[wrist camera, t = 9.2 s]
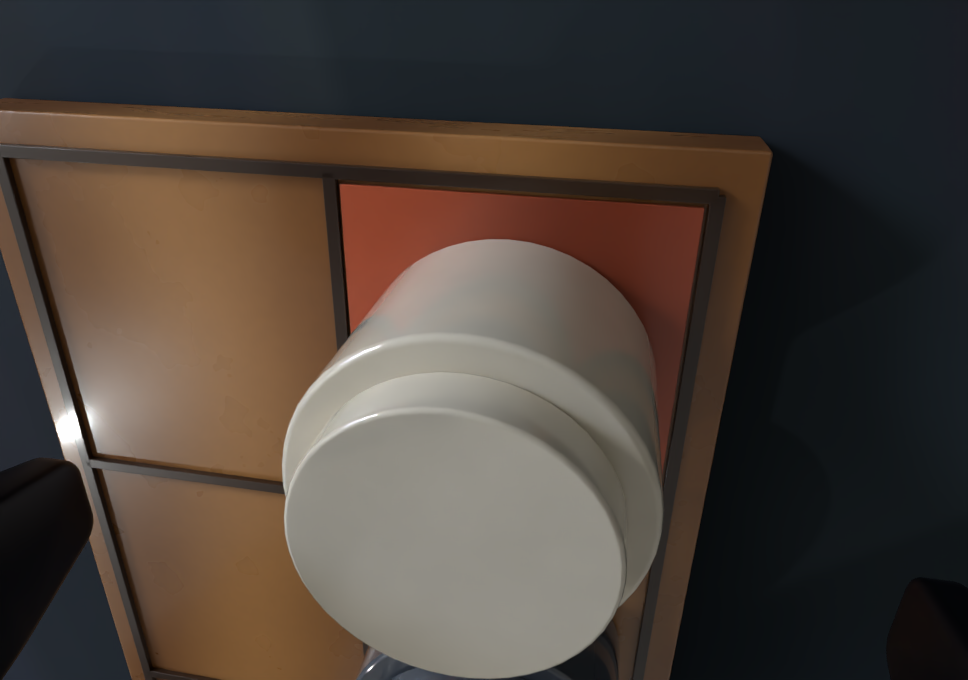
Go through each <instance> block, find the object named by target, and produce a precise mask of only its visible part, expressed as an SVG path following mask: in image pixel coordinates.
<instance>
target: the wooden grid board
mask: <svg viewBox="0 0 968 680" xmlns="http://www.w3.org/2000/svg"><path fill="white" fill-rule="evenodd" d="M772 157H773V153H772V151H771V150H770V148H769V147H768V146H767V145H766V143H765V142H764V141H763V139H762V138H761V137H756V136H737V135H717V134H697V133H678V132H658V131H639V130H619V129H600V128H580V127H560V126H541V125H521V124H502V123H482V122H463V121H443V120H423V119H404V118H384V117H365V116H345V115H326V114H306V113H286V112H267V111H247V110H228V109H208V108H189V107H169V106H149V105H130V104H110V103H91V102H71V101H52V100H32V99H12V98H4V99H0V249H1V252H2V256H3V259H4V262H5V265H6V269H7V272H8V275H9V278H10V282H11V285H12V288H13V292H14V295H15V298H16V301H17V305H18V308H19V311H20V314H21V318H22V321H23V324H24V328H25V331H26V334H27V337H28V341H29V344H30V347H31V350H32V354H33V357H34V360H35V364H36V367H37V370H38V373H39V377H40V380H41V383H42V386H43V390H44V393H45V396H46V400H47V403H48V406H49V409H50V413H51V416H52V419H53V423H54V426H55V429H56V432H57V436H58V439H59V442H60V445H61V449H62V452H63V455H64V459H65V461H70V462H72V463H74V464H75V465H76V466H77V467H78V468H79V470H80V472H81V475H82V479H83V482H84V486H85V489H86V492H87V496H88V499H89V502H90V506H91V509H92V512H93V517H94V523H93V529H92V532H91V535H90V537H89V540H90V544H91V547H92V550H93V553H94V557H95V560H96V563H97V567H98V570H99V573H100V576H101V580H102V583H103V586H104V589H105V593H106V596H107V599H108V603H109V606H110V609H111V612H112V616H113V619H114V622H115V625H116V629H117V632H118V635H119V639H120V642H121V645H122V648H123V652H124V655H125V658H126V661H127V665H128V668H129V671H130V675H131V678H132V680H355V679H356V676H357V673H358V671H359V668H360V666H361V663H362V661H363V658H364V656H365V653H366V651H367V648H368V645H367V644H365V643H364V642H362V641H360V640H359V639H357V638H356V637H355V636H353V635H352V634H351V633H349V632H348V631H347V630H345V629H344V628H343V627H341V626H340V625H339V624H338V623H337V622H336V621H335V620H334V619H333V618H332V617H331V616H329V615H328V614H327V613H326V612H325V610H324V609H323V608H322V607H321V606H320V605H319V604H318V602H317V601H316V600H315V599H314V598H313V596H312V595H311V593H310V592H309V591H308V589H307V588H306V586H305V585H304V583H303V582H302V580H301V578H300V576H299V574H298V572H297V570H296V568H295V566H294V564H293V561H292V558H291V556H290V553H289V550H288V545H287V541H286V536H285V527H284V510H285V499H286V496H285V491H284V487H283V476H282V457H283V446H284V440H285V436H286V432H287V428H288V425H289V422H290V420H291V418H292V415H293V413H294V411H295V409H296V407H297V405H298V403H299V402H300V400H301V399H302V397H303V396H304V394H305V393H306V391H307V390H308V388H309V387H310V386H311V385H312V383H313V382H314V381H315V379H316V378H317V377H318V376H319V374H320V373H321V372H322V370H323V369H324V368H325V367H326V365H327V364H328V363H329V362H330V360H331V359H332V358H333V356H334V355H335V354H336V353H337V351H338V350H339V349H340V347H341V346H342V345H343V344H344V342H345V341H346V340H347V339H348V337H349V336H350V335H351V333H352V332H353V331H354V330H355V328H356V327H357V326H358V324H359V323H360V322H361V321H362V319H363V318H364V317H365V316H366V314H367V313H368V312H369V310H370V309H371V308H372V307H373V305H374V304H375V303H376V302H377V300H378V299H379V298H380V296H381V295H382V294H383V293H384V291H385V290H386V289H387V287H388V286H389V285H390V284H391V283H392V282H393V281H394V280H395V279H396V278H397V277H398V276H399V275H400V274H401V273H402V272H404V271H405V270H406V269H407V268H409V267H410V266H411V265H412V264H414V263H415V262H417V261H419V260H420V259H422V258H424V257H426V256H427V255H429V254H431V253H434V252H436V251H439V250H441V249H443V248H446V247H449V246H452V245H456V244H460V243H464V242H469V241H477V240H486V239H509V240H516V241H524V242H531V243H534V244H538V245H542V246H546V247H549V248H552V249H555V250H557V251H560V252H562V253H565V254H567V255H570V256H572V257H573V258H575V259H577V260H579V261H581V262H582V263H584V264H586V265H588V266H589V267H591V268H592V269H594V270H595V271H596V272H598V273H599V274H600V275H602V276H603V277H604V278H606V279H607V280H608V281H609V282H610V283H611V284H612V285H613V286H614V287H615V288H616V289H617V290H618V291H619V292H620V293H621V294H622V295H623V296H624V298H625V299H626V300H627V301H628V303H629V304H630V305H631V306H632V308H633V309H634V311H635V312H636V314H637V316H638V317H639V319H640V321H641V322H642V324H643V326H644V328H645V331H646V333H647V336H648V338H649V341H650V343H651V347H652V351H653V355H654V359H655V366H656V377H657V394H658V411H659V429H660V447H661V464H662V482H663V500H664V519H663V532H662V536H661V540H660V544H659V548H658V552H657V554H656V556H655V558H654V561H653V563H652V565H651V567H650V569H649V571H648V573H647V574H646V576H645V577H644V579H643V580H642V582H641V583H640V585H639V586H638V588H637V589H636V590H635V591H634V593H633V594H632V595H631V596H630V597H629V598H628V599H627V600H626V601H625V602H624V603H623V604H622V605H621V606H620V607H619V608H618V609H617V611H616V614H615V615H614V617H613V618H612V619H613V621H614V623H615V626H616V630H617V633H618V637H619V644H620V663H619V680H669V679H670V674H671V669H672V664H673V659H674V654H675V649H676V644H677V639H678V634H679V629H680V624H681V619H682V613H683V608H684V603H685V598H686V593H687V588H688V583H689V578H690V573H691V568H692V563H693V558H694V553H695V547H696V542H697V537H698V532H699V527H700V522H701V517H702V512H703V507H704V502H705V497H706V492H707V487H708V481H709V476H710V471H711V466H712V461H713V456H714V451H715V446H716V441H717V436H718V431H719V426H720V421H721V415H722V410H723V405H724V400H725V395H726V390H727V385H728V380H729V375H730V370H731V365H732V360H733V355H734V349H735V344H736V339H737V334H738V329H739V324H740V319H741V314H742V309H743V304H744V299H745V294H746V289H747V283H748V278H749V273H750V268H751V263H752V258H753V253H754V248H755V243H756V238H757V233H758V228H759V223H760V217H761V212H762V207H763V202H764V197H765V192H766V187H767V182H768V177H769V172H770V167H771V162H772Z"/></svg>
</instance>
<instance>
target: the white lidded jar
mask: <svg viewBox="0 0 968 680" xmlns="http://www.w3.org/2000/svg"><path fill="white" fill-rule="evenodd" d="M282 476H283V487H284V491H285V496H286V499H285V510H284V527H285V536H286V541H287V545H288V550H289V553H290V556H291V558H292V561H293V564H294V566H295V568H296V570H297V572H298V574H299V576H300V578H301V580H302V582H303V583H304V585H305V586H306V588H307V589H308V591H309V592H310V593H311V595H312V596H313V598H314V599H315V600H316V601H317V602H318V604H319V605H320V606H321V607H322V608H323V609H324V610H325V612H326V613H327V614H328V615H329V616H331V617H332V618H333V619H334V620H335V621H336V622H337V623H338V624H339V625H340V626H341V627H343V628H344V629H345V630H347V631H348V632H349V633H351V634H352V635H353V636H355V637H356V638H357V639H359V640H360V641H362V642H364V643H365V644H367V645H368V646H370V647H372V648H373V649H375V650H377V651H379V652H381V653H383V654H385V655H387V656H389V657H391V658H393V659H396V660H398V661H400V662H403V663H405V664H408V665H410V666H414V667H417V668H420V669H423V670H426V671H430V672H434V673H439V674H443V675H448V676H455V677H463V678H473V679H499V678H512V677H518V676H524V675H529V674H533V673H536V672H540V671H543V670H547V669H549V668H552V667H554V666H556V665H559V664H561V663H564V662H565V661H567V660H569V659H571V658H572V657H574V656H576V655H577V654H579V653H580V652H582V651H583V650H584V649H586V648H587V647H588V646H589V645H591V644H592V643H593V642H594V641H595V640H596V639H597V638H598V637H599V636H600V635H601V633H602V632H603V631H604V630H605V629H606V627H607V626H608V624H609V623H610V621H611V620H612V618H613V617H614V615H615V614H616V611H617V609H618V608H619V607H620V606H621V605H622V604H623V603H624V602H625V601H626V600H627V599H628V598H629V597H630V596H631V595H632V594H633V593H634V591H635V590H636V589H637V588H638V586H639V585H640V583H641V582H642V580H643V579H644V577H645V576H646V574H647V573H648V571H649V569H650V567H651V565H652V563H653V561H654V558H655V556H656V554H657V552H658V548H659V544H660V540H661V536H662V532H663V519H664V500H663V482H662V464H661V447H660V429H659V411H658V394H657V377H656V366H655V359H654V355H653V351H652V347H651V343H650V341H649V338H648V336H647V333H646V331H645V328H644V326H643V324H642V322H641V321H640V319H639V317H638V316H637V314H636V312H635V311H634V309H633V308H632V306H631V305H630V304H629V303H628V301H627V300H626V299H625V298H624V296H623V295H622V294H621V293H620V292H619V291H618V290H617V289H616V288H615V287H614V286H613V285H612V284H611V283H610V282H609V281H608V280H607V279H606V278H604V277H603V276H602V275H600V274H599V273H598V272H596V271H595V270H594V269H592V268H591V267H589V266H588V265H586V264H584V263H582V262H581V261H579V260H577V259H575V258H573V257H572V256H570V255H567V254H565V253H562V252H560V251H557V250H555V249H552V248H549V247H546V246H542V245H538V244H534V243H531V242H524V241H516V240H509V239H486V240H477V241H469V242H464V243H460V244H456V245H452V246H449V247H446V248H443V249H441V250H439V251H436V252H434V253H431V254H429V255H427V256H426V257H424V258H422V259H420V260H419V261H417V262H415V263H414V264H412V265H411V266H410V267H409V268H407V269H406V270H405V271H404V272H402V273H401V274H400V275H399V276H398V277H397V278H396V279H395V280H394V281H393V282H392V283H391V284H390V285H389V286H388V287H387V289H386V290H385V291H384V293H383V294H382V295H381V296H380V298H379V299H378V300H377V302H376V303H375V304H374V305H373V307H372V308H371V309H370V310H369V312H368V313H367V314H366V316H365V317H364V318H363V319H362V321H361V322H360V323H359V324H358V326H357V327H356V328H355V330H354V331H353V332H352V333H351V335H350V336H349V337H348V339H347V340H346V341H345V342H344V344H343V345H342V346H341V347H340V349H339V350H338V351H337V353H336V354H335V355H334V356H333V358H332V359H331V360H330V362H329V363H328V364H327V365H326V367H325V368H324V369H323V370H322V372H321V373H320V374H319V376H318V377H317V378H316V379H315V381H314V382H313V383H312V385H311V386H310V387H309V388H308V390H307V391H306V393H305V394H304V396H303V397H302V399H301V400H300V402H299V403H298V405H297V407H296V409H295V411H294V413H293V415H292V418H291V420H290V422H289V425H288V428H287V432H286V436H285V440H284V446H283V457H282Z"/></svg>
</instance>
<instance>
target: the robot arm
mask: <svg viewBox="0 0 968 680" xmlns="http://www.w3.org/2000/svg"><path fill="white" fill-rule="evenodd" d="M93 523H94V517H93V512H92V509H91V506H90V502H89V499H88V496H87V492H86V489H85V486H84V482H83V479H82V475H81V472H80V470H79V468H78V467H77V466H76V465H75V464H74V463H72V462H70V461H65V460H58V459H50V458H36V459H33V460H30V461H27V462H25V463H22V464H19V465H17V466H14V467H12V468H9V469H7V470H4V471H1V472H0V680H2V679H3V677H4V676H5V674H6V673H7V671H8V670H9V669H10V667H11V666H12V664H13V663H14V661H15V660H16V658H17V657H18V655H19V654H20V652H21V651H22V649H23V648H24V646H25V644H26V643H27V641H28V640H29V638H30V636H31V635H32V633H33V631H34V630H35V628H36V626H37V625H38V623H39V621H40V620H41V618H42V616H43V615H44V613H45V611H46V610H47V608H48V606H49V605H50V603H51V601H52V600H53V598H54V596H55V595H56V593H57V591H58V590H59V588H60V586H61V584H62V583H63V581H64V579H65V578H66V576H67V574H68V573H69V571H70V569H71V568H72V566H73V564H74V563H75V561H76V559H77V558H78V556H79V554H80V553H81V551H82V549H83V548H84V546H85V544H86V543H87V541H88V539H89V537H90V535H91V532H92V529H93ZM886 654H887V663H888V668H889V673H890V678H891V680H968V588H967V587H965V586H964V585H962V584H960V583H957V582H953V581H946V580H939V579H931V578H924V577H918V578H915V579H913V580H911V581H910V582H909V584H908V585H907V587H906V589H905V592H904V594H903V597H902V600H901V602H900V605H899V607H898V610H897V613H896V615H895V618H894V620H893V623H892V626H891V628H890V631H889V634H888V637H887V645H886Z"/></svg>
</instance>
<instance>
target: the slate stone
mask: <svg viewBox="0 0 968 680" xmlns="http://www.w3.org/2000/svg"><path fill="white" fill-rule="evenodd" d="M619 663H620V644H619V637H618V633H617V630H616V626H615V623H614V621H613V619H612V620H611V621H610V623H609V624H608V626H607V627H606V629H605V630H604V631H603V632H602V633H601V635H600V636H599V637H598V638H597V639H596V640H595V641H594V642H593V643H592V644H591V645H589V646H588V647H587V648H586V649H584V650H583V651H582V652H580V653H579V654H577V655H576V656H574V657H572V658H571V659H569V660H567V661H565V662H564V663H561V664H559V665H556V666H554V667H552V668H549V669H547V670H543V671H540V672H536V673H533V674H529V675H524V676H518V677H512V678H499V679H473V678H463V677H455V676H448V675H443V674H439V673H434V672H430V671H426V670H423V669H420V668H417V667H414V666H410V665H408V664H405V663H403V662H400V661H398V660H396V659H393V658H391V657H389V656H387V655H385V654H383V653H381V652H379V651H377V650H375V649H373V648H372V647H370V646H368V648H367V651H366V653H365V656H364V658H363V661H362V663H361V666H360V668H359V671H358V673H357V676H356V679H355V680H619Z"/></svg>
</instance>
